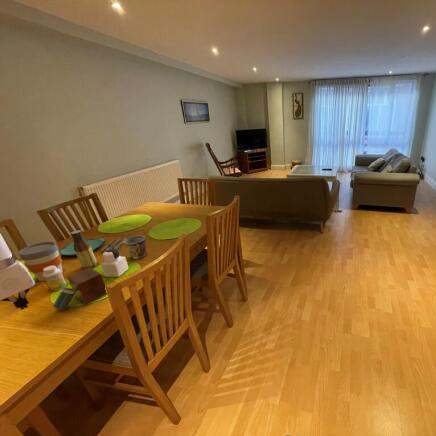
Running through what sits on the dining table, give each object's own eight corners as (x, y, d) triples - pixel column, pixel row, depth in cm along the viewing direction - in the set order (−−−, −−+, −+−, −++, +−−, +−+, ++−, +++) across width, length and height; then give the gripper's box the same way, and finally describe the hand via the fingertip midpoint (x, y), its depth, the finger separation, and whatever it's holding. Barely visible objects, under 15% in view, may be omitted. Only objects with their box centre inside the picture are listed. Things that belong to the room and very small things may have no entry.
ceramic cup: (126, 255, 132) (121, 239, 128) (146, 249, 138) (142, 233, 134) (132, 265, 123) (127, 248, 119) (153, 257, 130) (149, 241, 126)
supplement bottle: (52, 285, 108) (43, 266, 104) (68, 281, 110) (60, 263, 107) (47, 292, 103) (38, 273, 100) (64, 289, 106) (55, 269, 102)
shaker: (58, 314, 92) (50, 297, 89) (53, 310, 94) (46, 293, 91) (82, 302, 98) (76, 286, 95) (77, 299, 100) (71, 282, 97)
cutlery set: (75, 242, 146) (73, 239, 145) (129, 238, 151) (128, 235, 150) (51, 260, 128) (49, 256, 127) (113, 254, 133) (112, 250, 132)
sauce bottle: (92, 261, 126) (80, 227, 119) (100, 264, 124) (88, 229, 116) (78, 268, 120) (64, 233, 113) (86, 271, 118) (72, 235, 111)
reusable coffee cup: (24, 281, 111) (9, 253, 105) (53, 266, 122) (41, 240, 116) (47, 284, 109) (34, 255, 103) (74, 268, 120) (63, 242, 115)
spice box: (86, 304, 97) (77, 284, 93) (75, 296, 101) (66, 276, 98) (108, 293, 103) (101, 273, 99) (96, 285, 108) (89, 267, 104)
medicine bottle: (115, 268, 121) (108, 247, 116) (129, 268, 120) (122, 247, 116) (104, 276, 114) (96, 255, 109) (119, 277, 114) (111, 255, 109)
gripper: (-37, 280, 69) (-5, 326, 77) (33, 255, 81) (55, 297, 89) (-43, 272, 73) (-12, 317, 80) (25, 250, 85) (47, 291, 92)
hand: (23, 307), depth 84 cm, fingers closed
